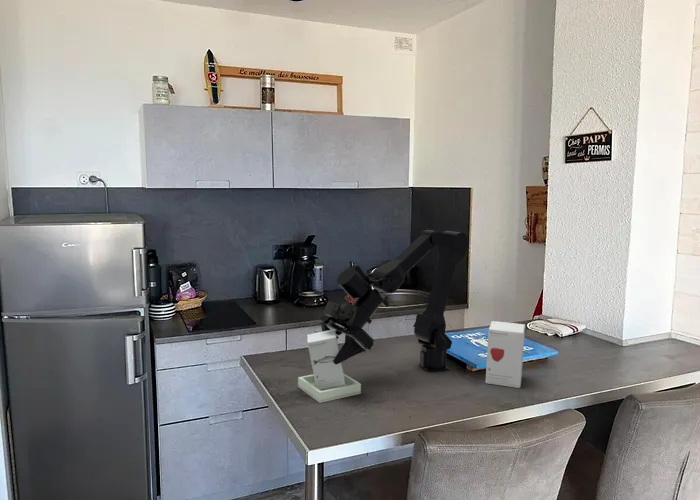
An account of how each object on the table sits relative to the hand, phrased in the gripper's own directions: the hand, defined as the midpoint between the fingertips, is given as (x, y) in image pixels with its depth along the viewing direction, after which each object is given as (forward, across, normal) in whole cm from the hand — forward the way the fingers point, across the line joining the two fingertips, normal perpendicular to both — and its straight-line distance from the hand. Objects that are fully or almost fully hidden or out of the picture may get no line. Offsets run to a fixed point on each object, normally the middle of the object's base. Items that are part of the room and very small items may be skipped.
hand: (325, 358), depth 134 cm
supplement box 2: (-25, +17, +39) cm, 49 cm away
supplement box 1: (+4, 0, +6) cm, 7 cm away
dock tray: (+5, 0, +7) cm, 9 cm away
